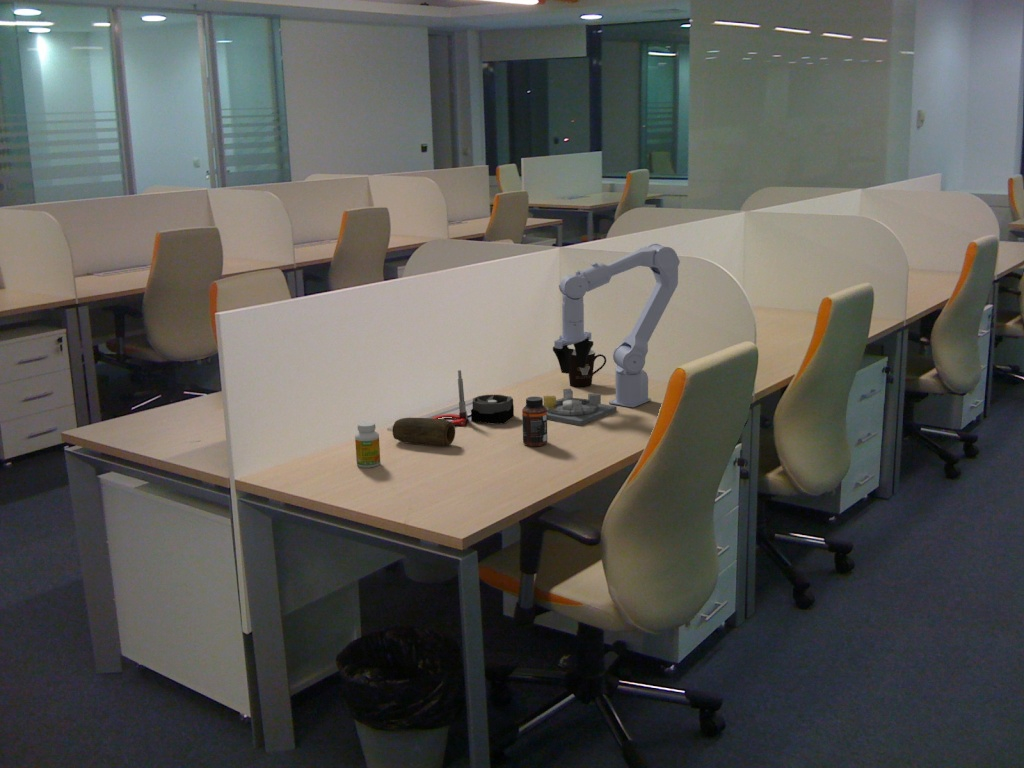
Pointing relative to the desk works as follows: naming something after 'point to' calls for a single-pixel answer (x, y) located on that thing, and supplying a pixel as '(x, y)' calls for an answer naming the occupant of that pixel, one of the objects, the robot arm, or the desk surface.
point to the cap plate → (580, 419)
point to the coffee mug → (583, 370)
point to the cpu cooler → (492, 409)
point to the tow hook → (463, 413)
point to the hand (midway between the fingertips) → (573, 370)
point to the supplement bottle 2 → (534, 422)
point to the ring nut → (576, 404)
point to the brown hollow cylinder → (424, 431)
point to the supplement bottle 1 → (367, 445)
